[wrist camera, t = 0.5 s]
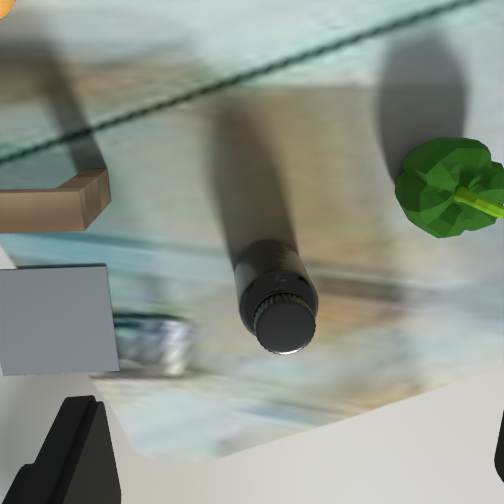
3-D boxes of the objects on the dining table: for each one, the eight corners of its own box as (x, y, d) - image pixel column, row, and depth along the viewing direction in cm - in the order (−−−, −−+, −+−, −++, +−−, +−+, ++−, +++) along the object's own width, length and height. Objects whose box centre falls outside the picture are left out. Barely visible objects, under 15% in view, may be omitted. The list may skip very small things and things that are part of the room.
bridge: (-58, 172, 41) (-132, 196, 32) (107, 168, 42) (78, 191, 33) (-50, 205, 42) (-119, 237, 33) (111, 200, 43) (84, 230, 34)
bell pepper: (363, 178, 44) (403, 205, 34) (430, 113, 42) (491, 123, 33) (417, 235, 46) (468, 274, 37) (483, 176, 45) (553, 201, 35)
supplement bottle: (276, 311, 48) (293, 381, 37) (221, 278, 46) (222, 341, 35) (315, 260, 46) (346, 317, 35) (260, 224, 45) (274, 272, 33)
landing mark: (-21, 270, 44) (-22, 271, 44) (106, 265, 45) (105, 266, 45) (4, 374, 49) (3, 376, 48) (119, 369, 49) (119, 370, 49)
